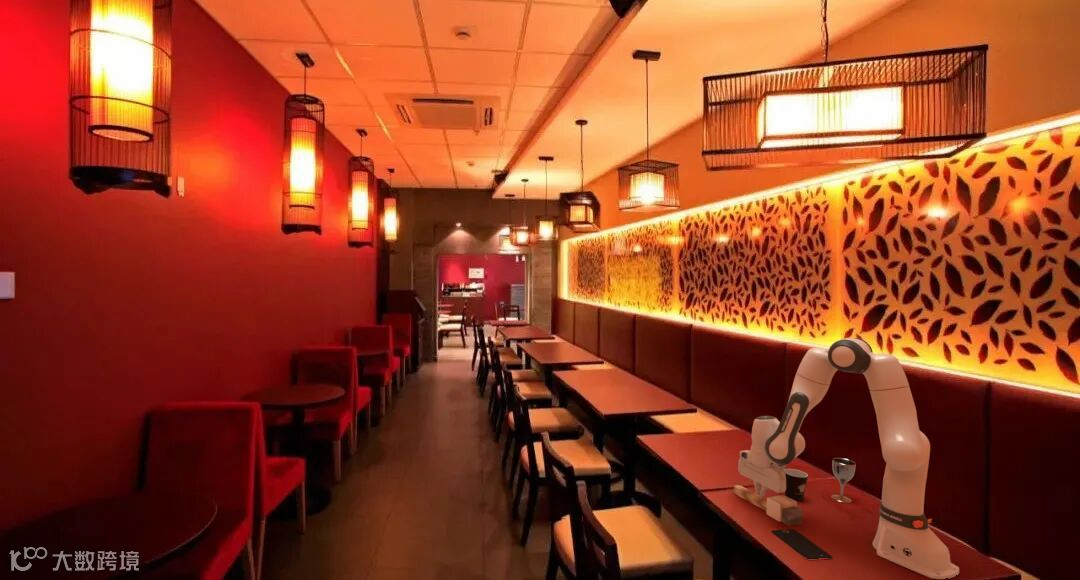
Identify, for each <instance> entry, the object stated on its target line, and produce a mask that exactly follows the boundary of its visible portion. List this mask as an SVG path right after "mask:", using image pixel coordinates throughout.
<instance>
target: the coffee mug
mask: <svg viewBox="0 0 1080 580" xmlns="http://www.w3.org/2000/svg"><path fill="white" fill-rule="evenodd" d="M784 471H785V476H786V491H785V492H784V496H786V497H788V498H790V499H792V500H794V501H796V502H797V503H798V502H799V503H801V502H803V501H804V497H805V492H806V487H807V482H808V477H809V475H808V473H807V472H805V471H802V470H799V469H796V468H795V469H794V468H786V469H785V470H784Z"/></svg>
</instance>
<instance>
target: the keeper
mask: <svg viewBox="0 0 1080 580" xmlns="http://www.w3.org/2000/svg"><path fill="white" fill-rule="evenodd" d="M766 499H767V505H766V506H767V511H765V513H766V515H767V516H769V517H770V518H771V519H774V520H775V521H777V522H778V523H780V522H781V523H782V515H783V508H789V507H794V506H796V507H798V505H797V504H798V501H794V500H792V499H790V498H788V497H786V496H785V494H780V495H775V496H770V497H769V496H768V497H766Z"/></svg>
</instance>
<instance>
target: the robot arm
mask: <svg viewBox="0 0 1080 580" xmlns="http://www.w3.org/2000/svg"><path fill="white" fill-rule="evenodd" d="M837 371H841V372H844V373H853V374H862V375H864V378H865V379H866V382H867V387H868V389H869V393H870V397H871V400H872V403H873V407H874V411H875V414H876V422H877V429H878V435H879V440H880V441H879V442H880V446H881V453H882V458H883V460H884V462H885V463H886V464H885V469H884V475H883V477H882V478H883V479H882V490H881V501H880V502H879V508H878V515H879V516H878V517H879V521H878V525H877V530H876V533H875V537H874V539H873V541H872V544H871V545H872V546H873V548H874V549H875V550H876V555H877V556H879V557H880V558H883V559H886V560H887V561H890V562H893V563H894V564H897V565H899V566H901V567H904V568H907V569H908V570H911V571H914V572H915V573H917V574H920V575H923V576H924V577H927V578H929V579H933V580H934V579H936V580H945V579H946V578H948V579H951V578H955V577H957V576H958V575H959V574H960V567H959V566H957V565H955V564H954V563H952V562H951V554H950V551H949V548H948V547H947V546H946V544H944V542H942V541H941V539H940V538H939V537H938V536H937V535H936V534H935V533H934V531H932V529H930V528H931V527H929V526H930V525H929V524H930V523H931V524H932V520H933V518H928V519H927V517H926V514H925V512H924V505H925V494H926V493H925V492H926V484H927V478H928V470H929V465H930V464H929V462H930V454H931V443H930V440H929V438H928V437H927V435H925V433H923V432H922V431H921V430H920V426H919V421H918V414H917V409H916V405H915V401H914V397H913V395H912V391H911V388H910V383H909V381H908V378H907V375H906V373H905V371H904V368H903V367H902V364H901V362H900V360H899V359H898V358H897V357H896V356H895V355H893V354H889V353H874V352H873V348H872V346H871V345H870V343H868V341H866V340H864V339H861V338H859V337H846V338H845V337H844V338H842V339H840V340H836V341H835V342H833V343H832V344H830V347H829V349H827V348H822V347H812V348H809V349H808V350H807V352H806V353H805V354H804V356H803V358H802V360H801V362H800V363H799V366H798V368H797V371H796V373H795V376H794V378H793V383H792V387H791V390H790V393H789V397H788V401H787V405H786V407H785V409H784V412H783V415H781V419H780V421H779V420H778V418H777V417H775V416H772V415H760V416H758V417H756V418H755V419H754V420H753V423H752V428H751V436H750V437H751V442H752V443H751V446H750V449H748V450H747V449H746V450H740V451H739V456H740V457H739V458H738V465H737V471H738V473H739V474H740V475H741V476H743V477H745V478H748V479H750V480H751V481H752V482H753V485H754V489H755V492H754V493H756V494H758V495H760V496H762V497H765V496H766V491H767V490H768V489H769V490H771V491H773V492H775V493H776V494H781V493H785V491H786V476H785V471H784V470H783V468H782V467H781V466H778V465H776V464H775V463H777V464H780V465H786V466H787V465H788V464H790V463H792V462H793V461H794V460H795V459H796V458H797V457H798V456H799V455H801V453H803V452H804V451H805V448H806V440H805V437H804V435H802V434H801V432H799V431H800V429H801V426H802V424H803V421H804V419H805V418H806V416H807V414H808V413H809V412H810V411H811V410H812V409H813V408H815V406H817V405H818V404H819V403H821V402H822V401H823V398H824V397H825V396H826V394H827V392H828V390H829V388H830V385H831V383H832V379H833V377H834V376H835V374H836V372H837ZM956 575H957V576H956Z"/></svg>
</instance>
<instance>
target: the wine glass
mask: <svg viewBox="0 0 1080 580" xmlns="http://www.w3.org/2000/svg"><path fill="white" fill-rule="evenodd" d="M831 463H832V466H831V467H832V473H833V475H834V476H835V478H836V479H837V480H838V482H839V484H840V494H831V496H830V497H831V498H832V499H833V500H835V501H837V502H840V503H841V502H842V503H846V504H848V503H852V499H851V498H849V497H847V496H845V495H844V488H845V485H846V484H847V483H848V482H849V481H850V480H852V479H853V477H854V475H855V472H856V462H855V461H853V460H850V459H848V458H842V457H834V458H832V462H831Z"/></svg>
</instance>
